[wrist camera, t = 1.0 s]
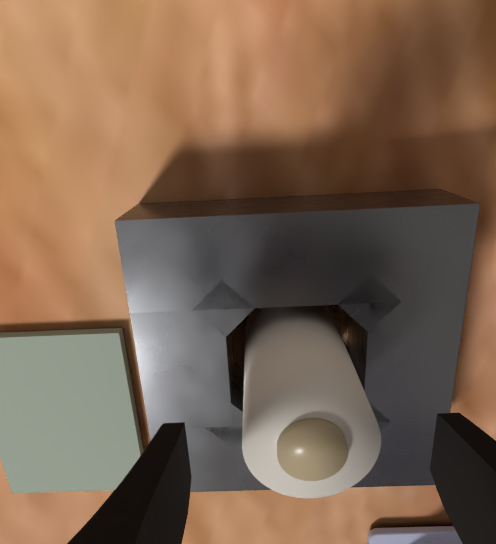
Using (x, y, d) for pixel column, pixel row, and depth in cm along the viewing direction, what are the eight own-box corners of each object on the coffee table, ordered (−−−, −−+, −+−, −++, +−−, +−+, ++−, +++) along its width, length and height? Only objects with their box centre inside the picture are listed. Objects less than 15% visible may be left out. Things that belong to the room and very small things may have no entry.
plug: (333, 367, 19) (379, 504, 12) (247, 370, 19) (245, 508, 12) (335, 287, 18) (389, 391, 11) (242, 291, 18) (237, 397, 11)
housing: (413, 434, 20) (439, 484, 18) (171, 442, 21) (158, 493, 18) (440, 189, 16) (480, 203, 13) (138, 203, 17) (114, 220, 14)
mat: (148, 481, 22) (146, 489, 21) (17, 485, 22) (11, 493, 21) (122, 327, 18) (118, 332, 18) (-32, 333, 19) (-39, 339, 18)
